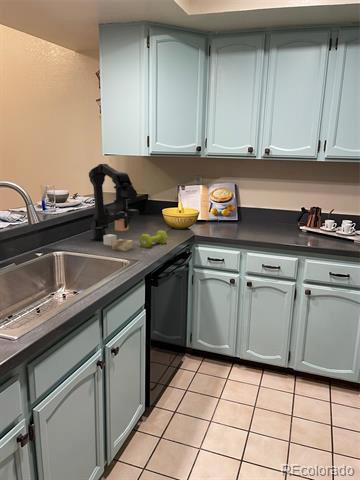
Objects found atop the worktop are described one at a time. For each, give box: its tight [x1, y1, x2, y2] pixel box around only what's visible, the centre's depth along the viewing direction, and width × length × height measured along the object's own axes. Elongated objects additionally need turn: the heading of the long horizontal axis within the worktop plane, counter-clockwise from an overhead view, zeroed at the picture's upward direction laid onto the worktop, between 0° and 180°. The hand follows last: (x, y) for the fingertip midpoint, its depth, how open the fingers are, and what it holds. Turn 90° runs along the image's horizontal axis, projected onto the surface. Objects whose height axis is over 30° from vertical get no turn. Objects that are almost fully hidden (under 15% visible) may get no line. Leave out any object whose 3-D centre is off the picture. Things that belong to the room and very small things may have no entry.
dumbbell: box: [139, 230, 168, 249], centre depth 211 cm, size 16×8×7 cm, turn 141°
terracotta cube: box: [114, 218, 129, 232], centre depth 200 cm, size 5×5×5 cm
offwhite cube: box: [103, 233, 118, 247], centre depth 211 cm, size 5×5×5 cm
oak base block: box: [111, 238, 134, 252], centre depth 203 cm, size 8×8×4 cm
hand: (121, 227), depth 201 cm, fingers closed on terracotta cube, 5 cm apart
